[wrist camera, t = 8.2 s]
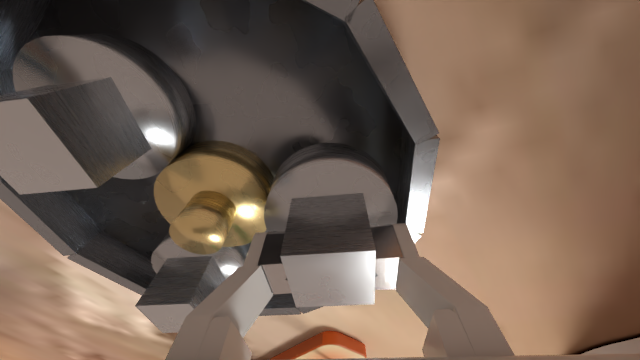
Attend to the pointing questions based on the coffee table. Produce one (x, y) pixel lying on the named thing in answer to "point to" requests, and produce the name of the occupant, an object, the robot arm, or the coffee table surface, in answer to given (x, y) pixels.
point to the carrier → (192, 129)
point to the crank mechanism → (325, 348)
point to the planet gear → (329, 223)
